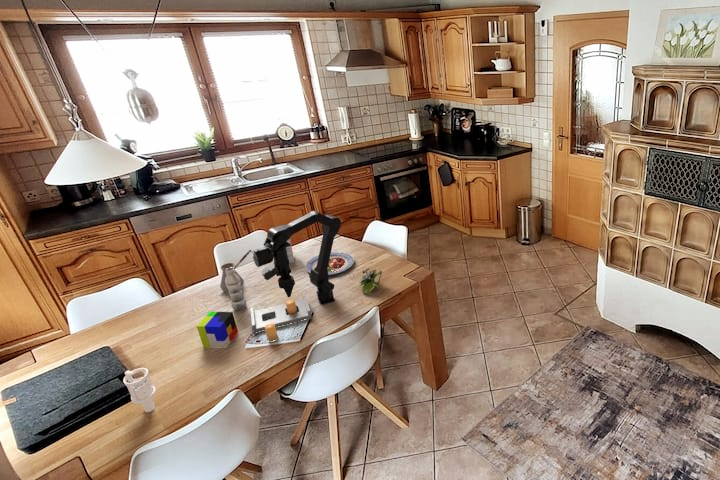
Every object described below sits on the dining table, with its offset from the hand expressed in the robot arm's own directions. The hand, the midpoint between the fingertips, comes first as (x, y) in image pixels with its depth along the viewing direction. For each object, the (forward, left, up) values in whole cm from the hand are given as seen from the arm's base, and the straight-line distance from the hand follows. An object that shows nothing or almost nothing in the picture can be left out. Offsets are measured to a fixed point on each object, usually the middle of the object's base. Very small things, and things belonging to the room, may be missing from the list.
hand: (287, 291), depth 167 cm
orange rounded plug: (+10, +14, -12) cm, 20 cm away
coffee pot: (+21, -40, -12) cm, 46 cm away
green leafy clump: (-38, -5, -12) cm, 40 cm away
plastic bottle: (+22, -16, -12) cm, 30 cm away
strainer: (+52, +34, -12) cm, 63 cm away
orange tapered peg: (0, 0, -12) cm, 12 cm away
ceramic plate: (-25, -37, -12) cm, 47 cm away
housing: (+5, 0, -12) cm, 12 cm away
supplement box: (-4, -56, -12) cm, 58 cm away
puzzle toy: (+30, +5, -12) cm, 32 cm away
